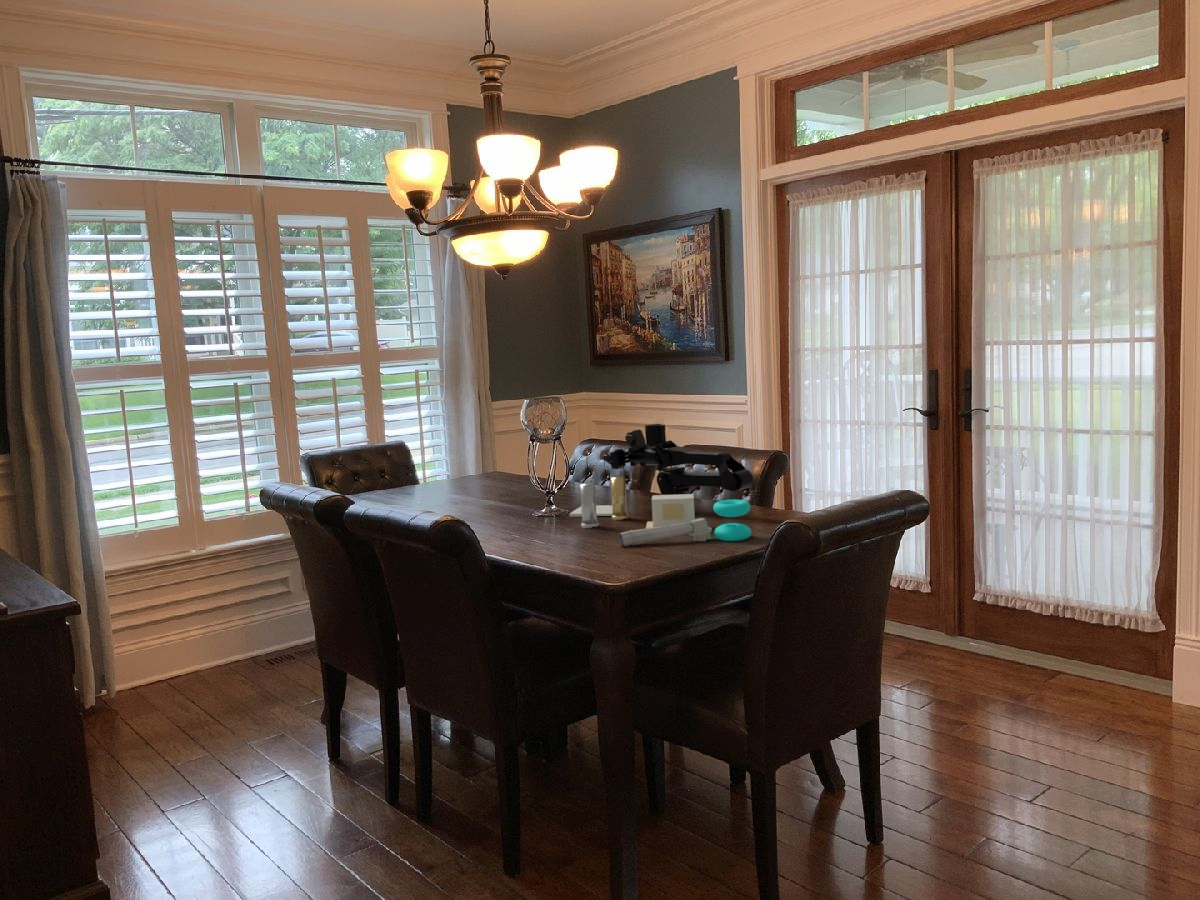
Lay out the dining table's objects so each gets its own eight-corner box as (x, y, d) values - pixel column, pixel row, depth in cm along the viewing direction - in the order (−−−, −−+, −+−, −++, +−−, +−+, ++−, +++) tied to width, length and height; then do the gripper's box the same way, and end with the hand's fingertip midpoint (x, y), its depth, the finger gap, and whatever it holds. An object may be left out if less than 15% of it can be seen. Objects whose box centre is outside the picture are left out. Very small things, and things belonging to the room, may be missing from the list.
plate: (623, 508, 313) (622, 505, 313) (612, 516, 300) (611, 513, 300) (582, 508, 317) (582, 505, 317) (569, 516, 303) (569, 513, 303)
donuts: (745, 505, 253) (708, 505, 256) (746, 542, 254) (710, 541, 258) (754, 498, 262) (718, 498, 266) (755, 534, 263) (720, 533, 267)
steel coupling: (602, 526, 286) (599, 483, 285) (589, 529, 283) (587, 485, 281) (590, 524, 290) (587, 481, 288) (577, 527, 286) (575, 484, 285)
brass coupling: (632, 518, 296) (629, 476, 294) (620, 521, 292) (618, 479, 291) (620, 516, 299) (617, 475, 298) (608, 519, 296) (606, 477, 294)
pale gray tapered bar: (617, 530, 260) (706, 512, 262) (622, 554, 261) (710, 535, 262) (619, 534, 255) (710, 515, 256) (624, 558, 256) (714, 539, 257)
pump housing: (647, 524, 285) (646, 493, 284) (701, 522, 283) (700, 491, 282) (645, 532, 273) (644, 500, 272) (702, 530, 272) (700, 498, 271)
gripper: (665, 428, 312) (628, 428, 322) (628, 434, 298) (591, 435, 309) (667, 461, 313) (631, 461, 323) (631, 469, 299) (594, 469, 310)
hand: (612, 456), depth 316 cm, fingers open, 9 cm apart
